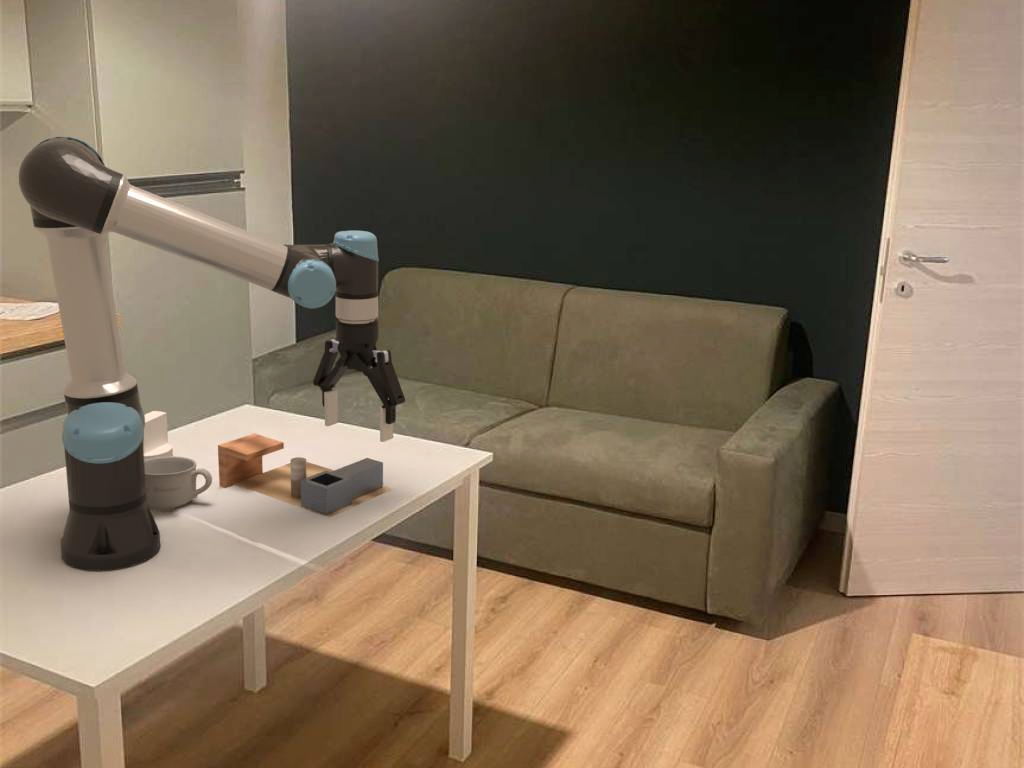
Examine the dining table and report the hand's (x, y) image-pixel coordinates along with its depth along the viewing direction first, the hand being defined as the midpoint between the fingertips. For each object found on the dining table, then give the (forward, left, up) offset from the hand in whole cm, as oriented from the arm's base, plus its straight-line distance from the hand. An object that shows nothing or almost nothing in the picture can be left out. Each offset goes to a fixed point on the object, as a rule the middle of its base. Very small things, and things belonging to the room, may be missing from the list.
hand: (358, 432), depth 193 cm
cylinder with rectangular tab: (-18, +37, -13) cm, 43 cm away
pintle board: (-4, +10, -13) cm, 17 cm away
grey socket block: (-3, 0, -12) cm, 12 cm away
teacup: (-24, +22, -13) cm, 35 cm away
